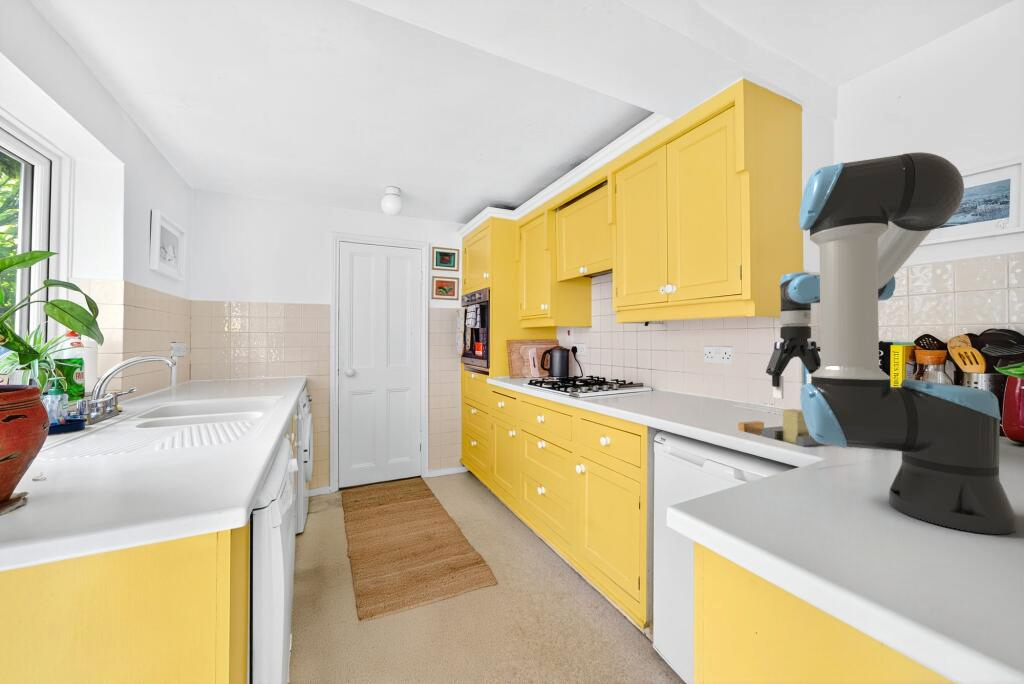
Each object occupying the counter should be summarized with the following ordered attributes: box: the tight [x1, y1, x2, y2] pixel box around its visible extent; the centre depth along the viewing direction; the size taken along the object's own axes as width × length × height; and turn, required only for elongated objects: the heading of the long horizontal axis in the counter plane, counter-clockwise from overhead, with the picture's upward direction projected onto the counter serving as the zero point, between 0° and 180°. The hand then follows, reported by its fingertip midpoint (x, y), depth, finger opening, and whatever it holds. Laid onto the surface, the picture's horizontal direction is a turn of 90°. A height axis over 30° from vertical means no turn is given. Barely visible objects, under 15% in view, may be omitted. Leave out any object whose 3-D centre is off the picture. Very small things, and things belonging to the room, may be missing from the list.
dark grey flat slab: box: [737, 420, 825, 448], centre depth 125 cm, size 8×22×3 cm, turn 17°
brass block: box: [782, 408, 810, 443], centre depth 120 cm, size 4×4×9 cm
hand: (795, 396), depth 120 cm, fingers open, 13 cm apart
